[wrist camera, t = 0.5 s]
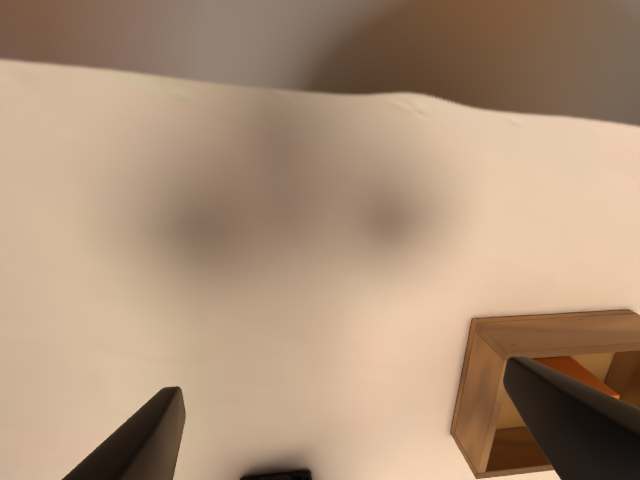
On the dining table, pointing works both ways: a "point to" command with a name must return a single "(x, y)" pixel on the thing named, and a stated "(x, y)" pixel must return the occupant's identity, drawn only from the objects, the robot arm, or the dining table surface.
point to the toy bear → (576, 372)
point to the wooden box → (535, 342)
